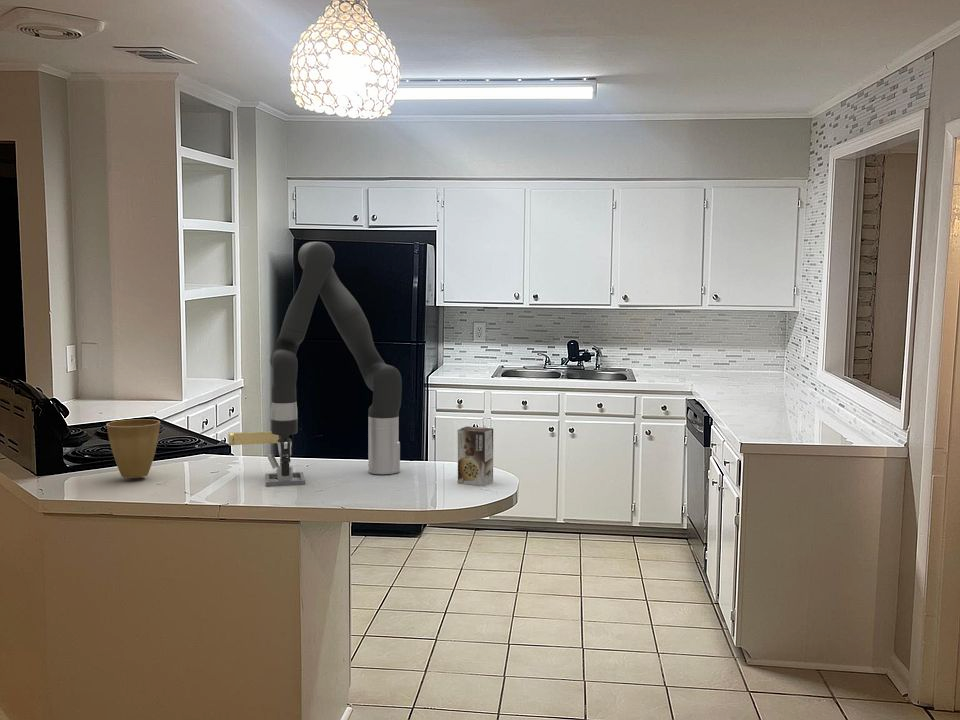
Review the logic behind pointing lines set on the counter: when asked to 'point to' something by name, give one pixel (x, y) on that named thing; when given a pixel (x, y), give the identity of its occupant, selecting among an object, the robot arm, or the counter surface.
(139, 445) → the plant pot
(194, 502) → the counter surface
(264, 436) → the gold bar
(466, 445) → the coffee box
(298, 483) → the switch
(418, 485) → the counter surface
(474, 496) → the counter surface
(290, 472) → the grey angled piece
